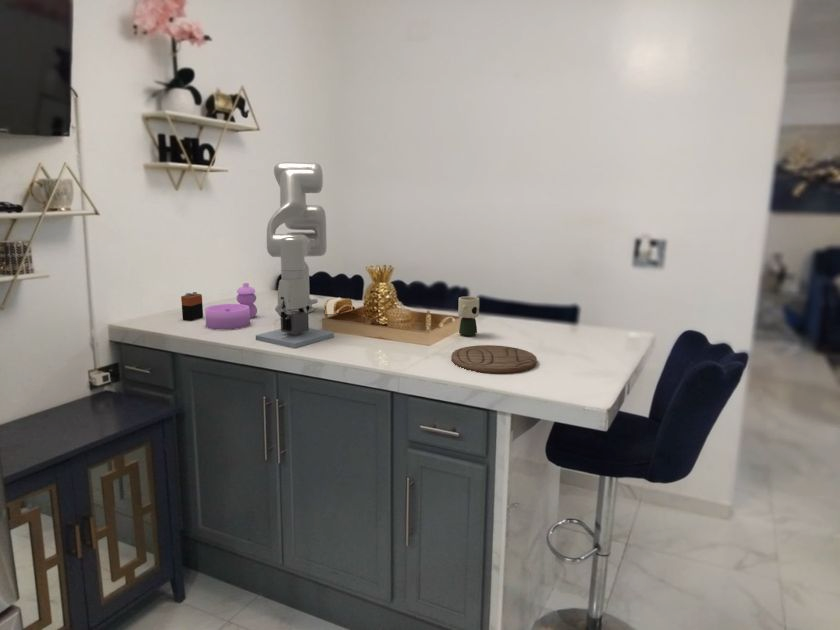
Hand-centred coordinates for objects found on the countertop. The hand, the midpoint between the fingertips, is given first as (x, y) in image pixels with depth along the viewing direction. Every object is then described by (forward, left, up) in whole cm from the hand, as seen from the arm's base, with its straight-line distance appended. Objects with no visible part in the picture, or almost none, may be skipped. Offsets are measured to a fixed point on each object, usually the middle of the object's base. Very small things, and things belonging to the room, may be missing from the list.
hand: (294, 327), depth 202 cm
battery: (+2, -52, -4) cm, 52 cm away
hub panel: (0, 0, -4) cm, 4 cm away
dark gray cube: (0, 0, -1) cm, 1 cm away
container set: (-4, -35, -4) cm, 36 cm away
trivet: (-16, +66, -4) cm, 68 cm away
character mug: (-39, +44, -4) cm, 59 cm away
